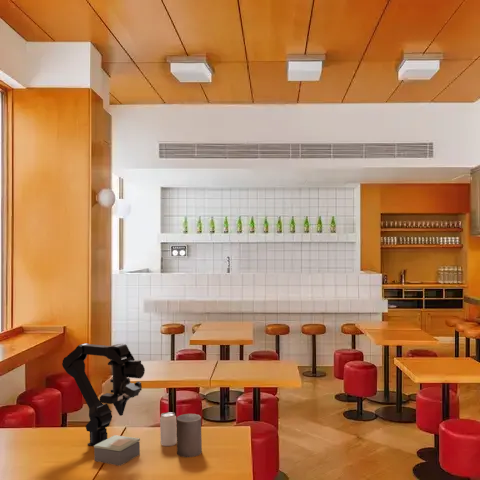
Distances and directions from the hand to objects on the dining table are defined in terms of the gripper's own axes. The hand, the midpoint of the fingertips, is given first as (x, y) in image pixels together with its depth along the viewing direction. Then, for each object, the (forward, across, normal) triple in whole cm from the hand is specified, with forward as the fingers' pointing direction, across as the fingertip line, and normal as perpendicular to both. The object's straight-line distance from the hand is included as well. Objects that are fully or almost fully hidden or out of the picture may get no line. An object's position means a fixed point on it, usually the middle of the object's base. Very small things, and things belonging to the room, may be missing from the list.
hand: (121, 415), depth 229 cm
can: (+13, +11, -15) cm, 23 cm away
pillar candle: (+13, +6, -28) cm, 32 cm away
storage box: (+13, -9, -5) cm, 17 cm away
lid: (+8, -9, -5) cm, 13 cm away
